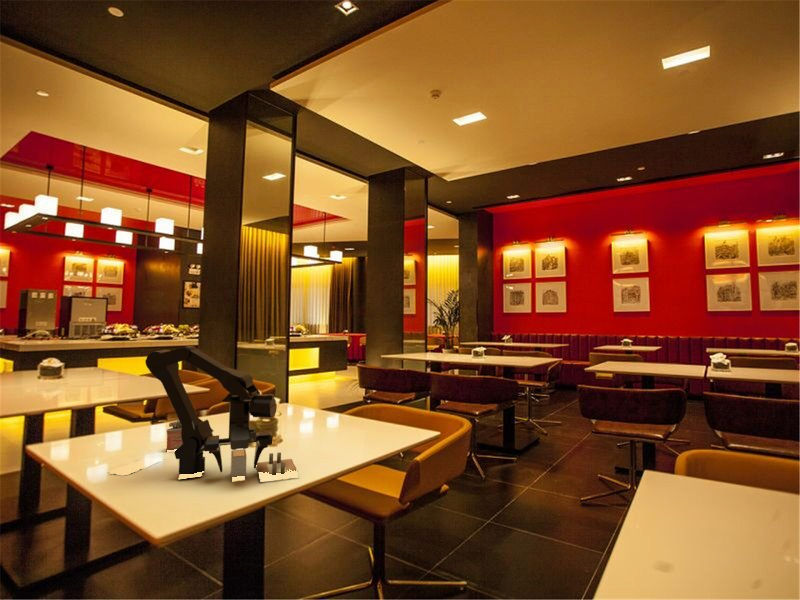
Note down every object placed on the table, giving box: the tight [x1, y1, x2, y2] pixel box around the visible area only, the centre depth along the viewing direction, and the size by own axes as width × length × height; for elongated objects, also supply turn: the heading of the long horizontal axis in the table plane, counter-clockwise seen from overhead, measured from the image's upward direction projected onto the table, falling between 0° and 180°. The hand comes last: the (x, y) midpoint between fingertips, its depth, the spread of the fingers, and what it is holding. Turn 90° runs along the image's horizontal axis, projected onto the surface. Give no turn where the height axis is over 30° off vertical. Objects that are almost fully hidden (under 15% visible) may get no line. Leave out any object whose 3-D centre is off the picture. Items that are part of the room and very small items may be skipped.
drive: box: [230, 448, 247, 478], centre depth 125 cm, size 4×7×7 cm, turn 23°
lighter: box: [165, 419, 183, 451], centre depth 150 cm, size 8×3×10 cm, turn 149°
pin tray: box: [256, 452, 298, 475], centre depth 130 cm, size 11×14×4 cm
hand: (238, 469), depth 125 cm, fingers open, 9 cm apart
